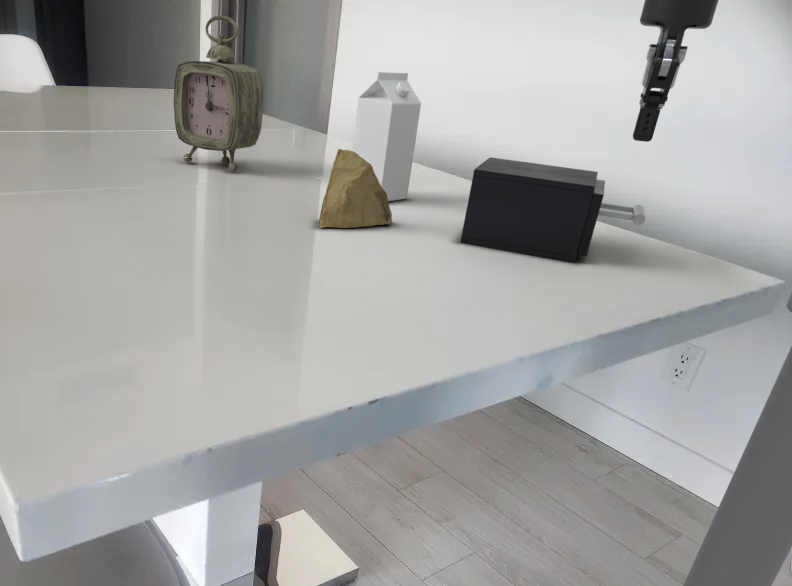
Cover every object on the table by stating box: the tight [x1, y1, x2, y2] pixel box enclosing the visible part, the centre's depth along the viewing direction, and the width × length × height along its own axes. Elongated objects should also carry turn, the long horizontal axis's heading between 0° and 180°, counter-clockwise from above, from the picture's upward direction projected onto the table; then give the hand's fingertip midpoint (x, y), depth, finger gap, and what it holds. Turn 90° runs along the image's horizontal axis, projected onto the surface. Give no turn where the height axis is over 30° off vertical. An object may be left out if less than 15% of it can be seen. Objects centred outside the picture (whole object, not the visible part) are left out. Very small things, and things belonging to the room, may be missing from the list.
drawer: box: [576, 178, 646, 257], centre depth 90 cm, size 19×11×8 cm, turn 66°
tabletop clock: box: [173, 15, 264, 173], centre depth 121 cm, size 14×9×25 cm, turn 56°
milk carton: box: [352, 71, 422, 202], centre depth 108 cm, size 7×7×19 cm
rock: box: [318, 148, 393, 229], centre depth 93 cm, size 11×9×10 cm
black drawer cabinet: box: [460, 156, 599, 264], centre depth 91 cm, size 15×13×10 cm
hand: (641, 140), depth 84 cm, fingers closed
